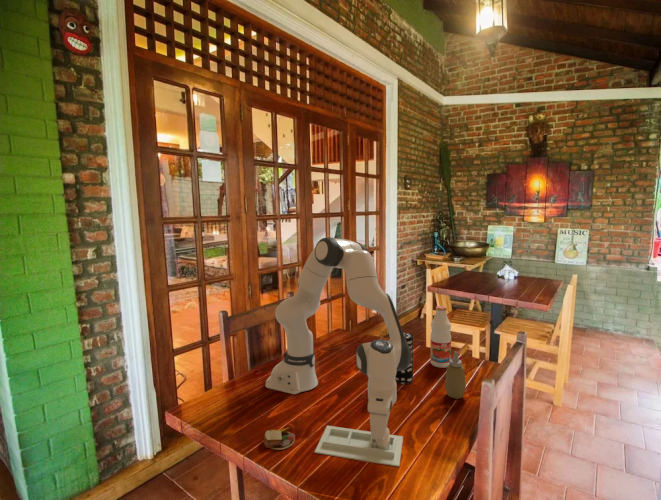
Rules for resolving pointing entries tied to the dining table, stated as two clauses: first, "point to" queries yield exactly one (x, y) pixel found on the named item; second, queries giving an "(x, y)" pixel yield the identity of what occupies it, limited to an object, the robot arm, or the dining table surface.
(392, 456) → the egg tray
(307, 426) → the dining table surface
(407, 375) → the white-spotted black cylinder
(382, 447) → the egg
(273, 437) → the toy sandwich meal
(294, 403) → the dining table surface
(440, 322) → the fruit juice
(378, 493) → the dining table surface
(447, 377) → the squeeze bottle
